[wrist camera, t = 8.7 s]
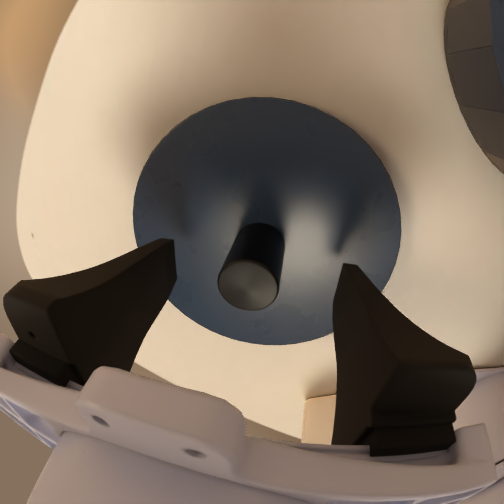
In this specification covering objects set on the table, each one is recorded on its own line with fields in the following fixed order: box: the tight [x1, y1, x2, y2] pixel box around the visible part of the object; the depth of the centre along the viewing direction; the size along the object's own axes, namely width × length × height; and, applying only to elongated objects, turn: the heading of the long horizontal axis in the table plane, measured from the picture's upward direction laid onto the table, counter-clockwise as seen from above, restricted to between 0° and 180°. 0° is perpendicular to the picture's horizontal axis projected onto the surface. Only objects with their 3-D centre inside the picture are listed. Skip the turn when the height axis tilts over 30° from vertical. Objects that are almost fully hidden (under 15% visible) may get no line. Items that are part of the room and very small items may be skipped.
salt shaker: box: [301, 395, 336, 445], centre depth 17 cm, size 4×4×10 cm
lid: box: [133, 97, 401, 345], centre depth 13 cm, size 14×14×5 cm
